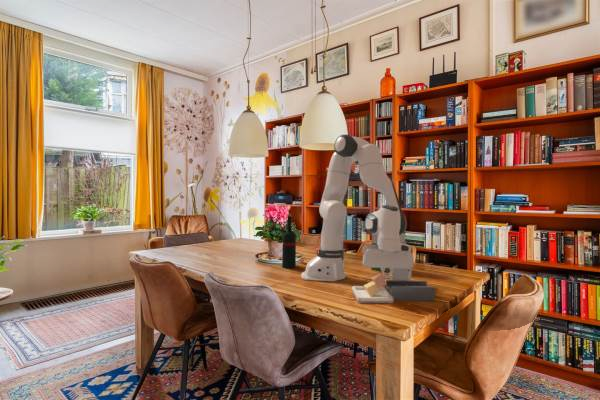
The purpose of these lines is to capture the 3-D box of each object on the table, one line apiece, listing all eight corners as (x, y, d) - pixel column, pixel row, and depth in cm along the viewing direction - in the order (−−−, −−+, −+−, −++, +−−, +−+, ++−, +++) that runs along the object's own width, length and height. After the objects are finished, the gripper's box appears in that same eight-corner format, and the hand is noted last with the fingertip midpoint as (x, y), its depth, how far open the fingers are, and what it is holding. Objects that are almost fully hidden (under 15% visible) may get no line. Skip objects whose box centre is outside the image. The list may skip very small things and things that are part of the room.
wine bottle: (298, 265, 197) (299, 213, 196) (293, 268, 187) (294, 215, 186) (285, 264, 199) (286, 213, 198) (280, 267, 189) (280, 214, 188)
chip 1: (379, 292, 138) (370, 296, 137) (375, 289, 142) (367, 293, 141) (375, 283, 137) (366, 288, 137) (372, 281, 141) (363, 285, 141)
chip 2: (378, 288, 137) (373, 279, 137) (374, 286, 141) (370, 277, 141) (386, 284, 137) (382, 275, 137) (383, 281, 141) (379, 273, 141)
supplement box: (407, 287, 154) (408, 259, 154) (391, 284, 158) (392, 257, 158) (411, 283, 160) (412, 257, 160) (396, 281, 164) (396, 255, 164)
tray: (358, 302, 132) (358, 297, 132) (352, 290, 148) (352, 286, 148) (393, 303, 132) (393, 298, 132) (383, 290, 148) (383, 286, 148)
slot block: (392, 300, 135) (392, 286, 135) (385, 292, 145) (386, 280, 145) (434, 301, 135) (434, 287, 135) (425, 293, 145) (425, 280, 145)
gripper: (363, 245, 136) (362, 279, 136) (415, 247, 135) (413, 281, 135) (361, 242, 142) (360, 275, 143) (411, 245, 141) (409, 277, 142)
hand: (386, 278), depth 139 cm, fingers closed
